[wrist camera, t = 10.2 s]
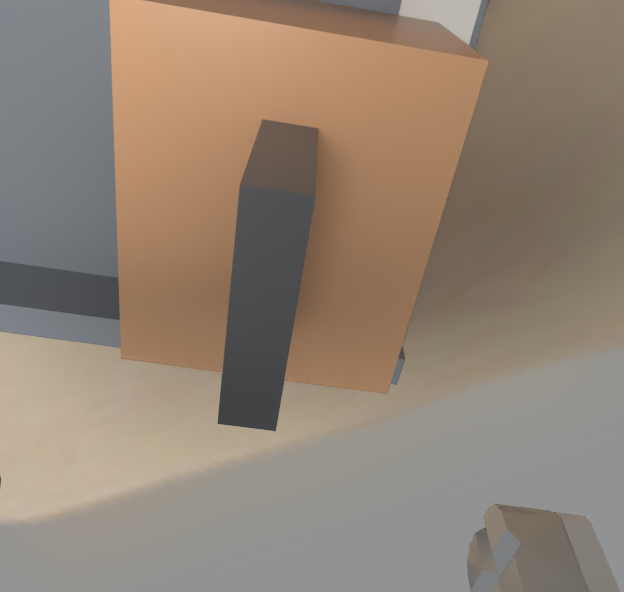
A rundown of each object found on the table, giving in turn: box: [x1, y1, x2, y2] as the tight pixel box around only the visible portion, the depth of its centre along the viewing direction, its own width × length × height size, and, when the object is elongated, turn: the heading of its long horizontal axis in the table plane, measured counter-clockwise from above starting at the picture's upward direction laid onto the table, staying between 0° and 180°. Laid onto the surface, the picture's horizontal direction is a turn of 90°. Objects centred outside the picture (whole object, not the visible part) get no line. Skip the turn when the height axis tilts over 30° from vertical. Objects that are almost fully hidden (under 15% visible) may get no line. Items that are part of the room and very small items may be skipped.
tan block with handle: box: [109, 0, 489, 431], centre depth 19 cm, size 10×12×13 cm
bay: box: [0, 0, 489, 385], centre depth 23 cm, size 26×19×4 cm
